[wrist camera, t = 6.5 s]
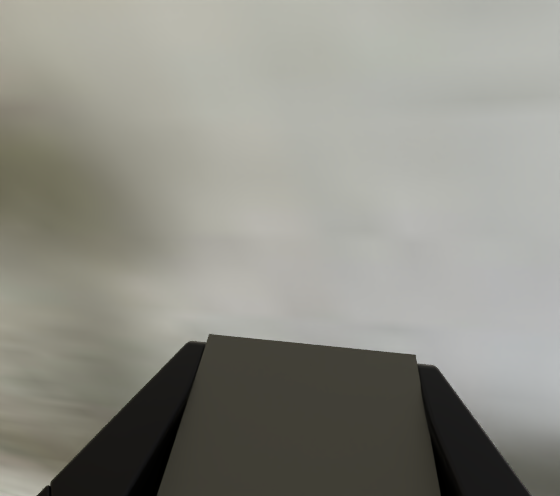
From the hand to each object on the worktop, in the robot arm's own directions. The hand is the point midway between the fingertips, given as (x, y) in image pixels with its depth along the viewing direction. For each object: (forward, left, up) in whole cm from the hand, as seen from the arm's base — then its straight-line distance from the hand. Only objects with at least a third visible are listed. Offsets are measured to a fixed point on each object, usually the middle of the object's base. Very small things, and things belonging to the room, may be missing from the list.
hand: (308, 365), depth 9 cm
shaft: (0, +10, 0) cm, 10 cm away
